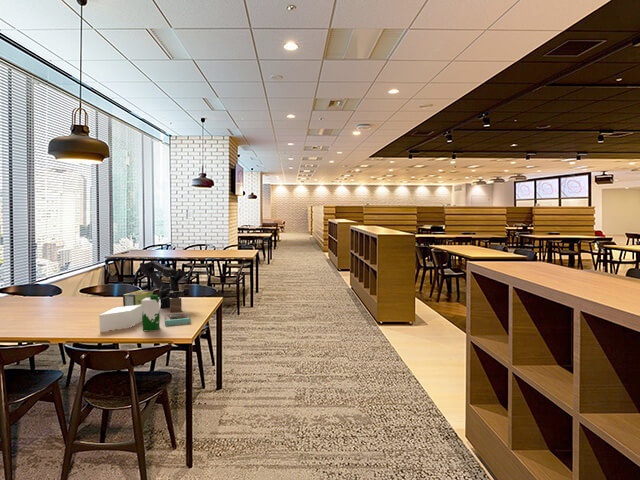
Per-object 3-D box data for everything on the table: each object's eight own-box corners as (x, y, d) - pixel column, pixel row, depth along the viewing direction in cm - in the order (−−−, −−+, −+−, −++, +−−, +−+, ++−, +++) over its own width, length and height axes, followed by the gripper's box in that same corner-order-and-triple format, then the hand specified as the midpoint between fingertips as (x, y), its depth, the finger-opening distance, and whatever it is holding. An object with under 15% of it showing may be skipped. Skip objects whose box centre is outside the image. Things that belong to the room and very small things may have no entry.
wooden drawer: (169, 315, 262) (169, 298, 261) (182, 313, 265) (181, 297, 264) (170, 320, 249) (169, 303, 248) (183, 319, 252) (183, 302, 251)
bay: (164, 319, 251) (164, 314, 250) (188, 317, 256) (188, 312, 256) (165, 325, 237) (164, 320, 237) (190, 323, 242) (190, 318, 242)
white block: (151, 321, 246) (151, 305, 246) (108, 334, 221) (107, 316, 220) (135, 318, 253) (135, 302, 252) (92, 330, 227) (91, 313, 227)
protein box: (153, 313, 264) (153, 290, 263) (136, 319, 250) (135, 295, 249) (141, 312, 268) (140, 289, 266) (123, 318, 253) (122, 294, 252)
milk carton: (156, 331, 227) (155, 296, 225) (140, 331, 226) (139, 297, 224) (161, 326, 235) (160, 293, 234) (145, 326, 235) (144, 293, 233)
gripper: (188, 289, 283) (189, 308, 274) (160, 291, 276) (161, 311, 267) (188, 281, 275) (190, 299, 266) (160, 282, 268) (160, 302, 259)
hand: (175, 303), depth 265 cm, fingers closed
